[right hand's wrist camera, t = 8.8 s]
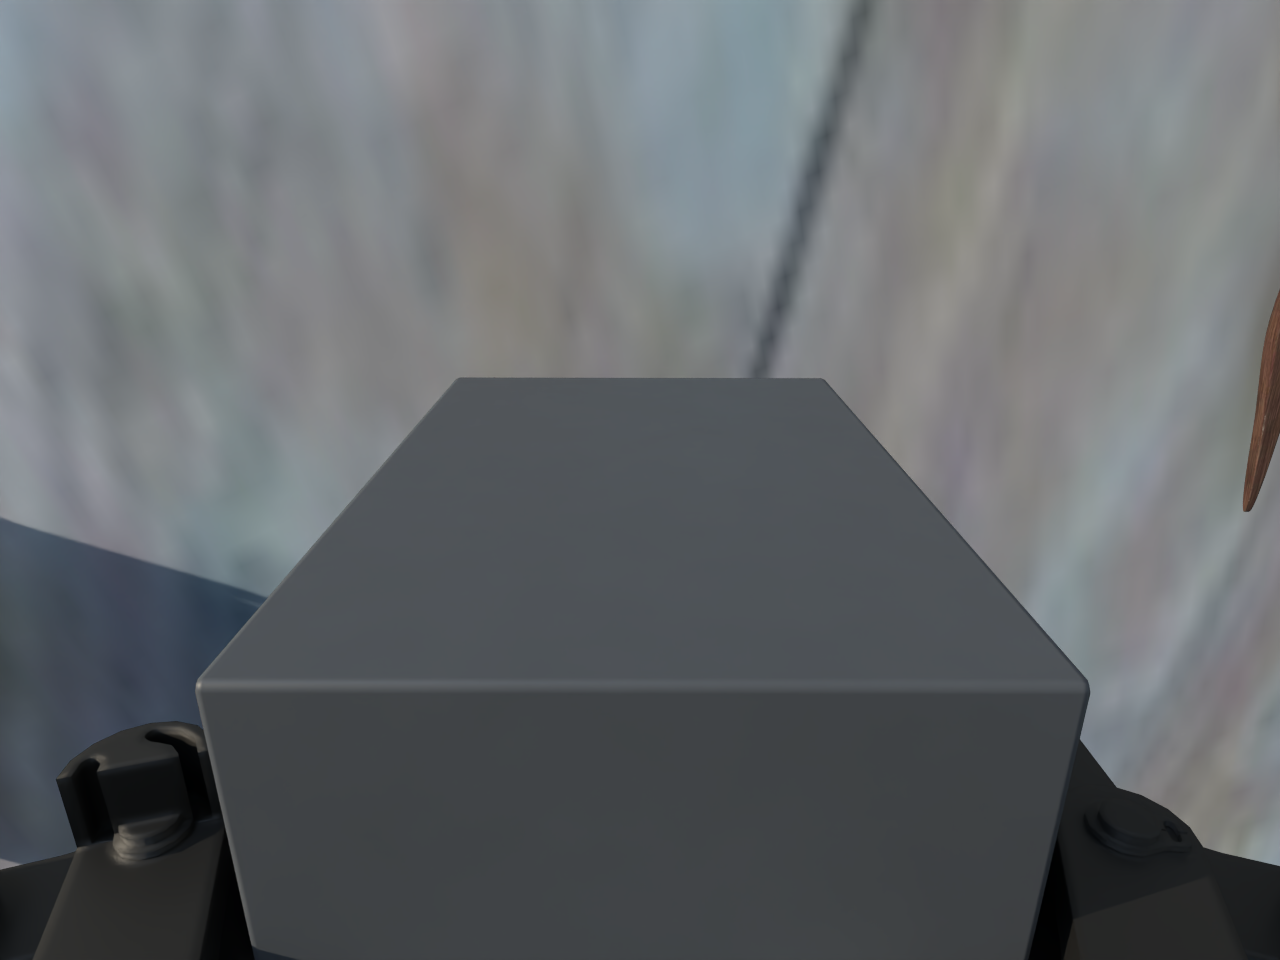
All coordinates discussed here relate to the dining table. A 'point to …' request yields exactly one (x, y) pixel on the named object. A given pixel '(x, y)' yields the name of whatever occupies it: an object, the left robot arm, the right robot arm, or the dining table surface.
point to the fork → (1265, 412)
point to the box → (641, 697)
